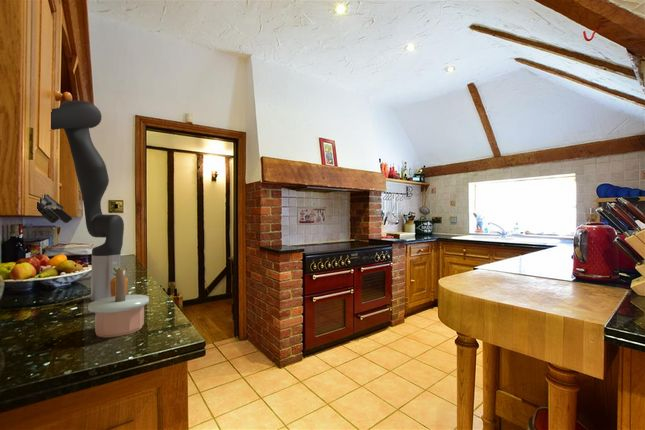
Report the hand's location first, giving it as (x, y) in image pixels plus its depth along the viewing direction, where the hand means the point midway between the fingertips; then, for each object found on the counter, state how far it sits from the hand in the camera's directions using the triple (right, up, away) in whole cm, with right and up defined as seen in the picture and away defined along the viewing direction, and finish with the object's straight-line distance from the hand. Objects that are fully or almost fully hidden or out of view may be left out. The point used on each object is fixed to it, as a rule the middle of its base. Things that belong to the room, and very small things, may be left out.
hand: (63, 221), depth 84 cm
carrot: (+5, -31, +15) cm, 35 cm away
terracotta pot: (+18, -31, -3) cm, 36 cm away
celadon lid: (+18, -24, -2) cm, 30 cm away
